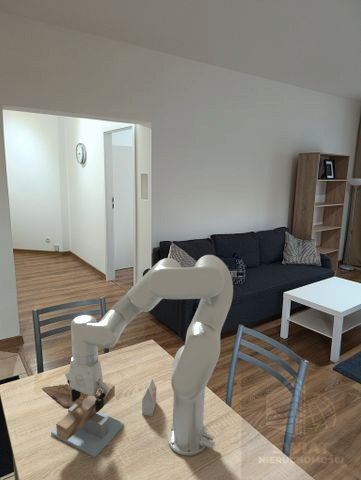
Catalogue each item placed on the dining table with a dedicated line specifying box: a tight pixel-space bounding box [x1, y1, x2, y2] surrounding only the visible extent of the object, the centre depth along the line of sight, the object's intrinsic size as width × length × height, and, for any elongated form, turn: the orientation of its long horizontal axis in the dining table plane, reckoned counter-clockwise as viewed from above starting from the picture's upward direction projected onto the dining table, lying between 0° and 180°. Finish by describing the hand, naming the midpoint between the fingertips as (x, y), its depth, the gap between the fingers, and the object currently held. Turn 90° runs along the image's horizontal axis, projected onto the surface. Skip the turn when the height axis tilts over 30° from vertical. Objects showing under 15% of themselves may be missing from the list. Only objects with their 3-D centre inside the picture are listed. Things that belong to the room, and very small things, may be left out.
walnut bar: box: [55, 381, 116, 440], centre depth 105 cm, size 22×4×4 cm, turn 153°
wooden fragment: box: [41, 383, 89, 408], centre depth 121 cm, size 26×11×1 cm, turn 65°
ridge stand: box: [50, 404, 125, 458], centre depth 105 cm, size 18×14×6 cm
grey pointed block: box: [141, 378, 158, 416], centre depth 116 cm, size 4×7×10 cm, turn 173°
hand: (87, 404), depth 104 cm, fingers open, 9 cm apart
